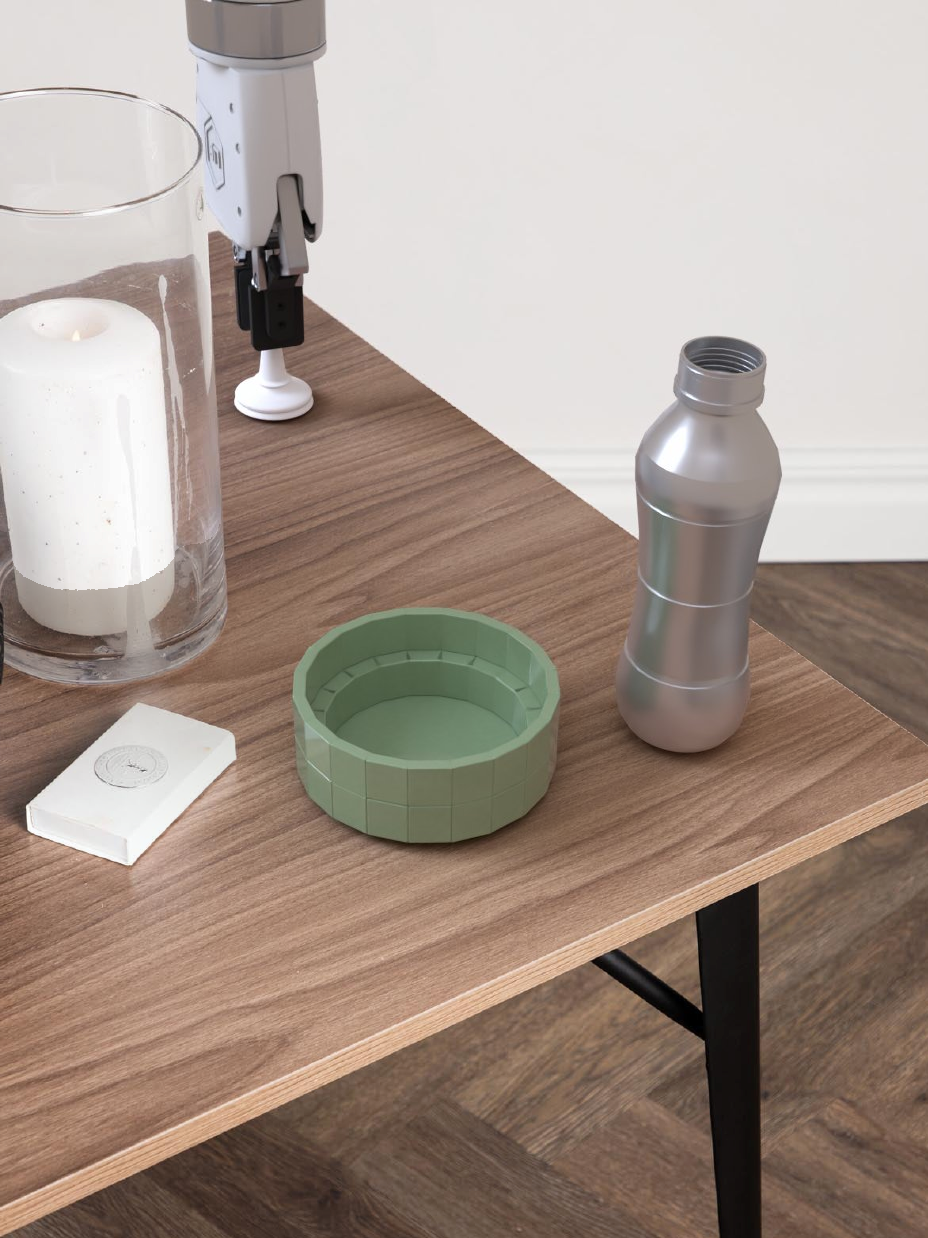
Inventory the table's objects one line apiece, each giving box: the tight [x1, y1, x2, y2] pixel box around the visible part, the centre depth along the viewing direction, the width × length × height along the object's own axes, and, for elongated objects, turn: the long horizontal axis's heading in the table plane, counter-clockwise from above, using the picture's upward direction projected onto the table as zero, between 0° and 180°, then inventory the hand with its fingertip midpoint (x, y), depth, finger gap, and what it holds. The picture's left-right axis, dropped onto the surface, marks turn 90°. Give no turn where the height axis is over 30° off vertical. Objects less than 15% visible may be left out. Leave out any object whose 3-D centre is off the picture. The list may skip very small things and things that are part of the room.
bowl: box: [292, 606, 562, 844], centre depth 80 cm, size 12×12×5 cm
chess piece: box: [233, 250, 314, 421], centre depth 104 cm, size 5×5×10 cm
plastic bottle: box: [614, 335, 783, 754], centre depth 78 cm, size 6×7×20 cm
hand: (270, 334), depth 105 cm, fingers closed on chess piece
